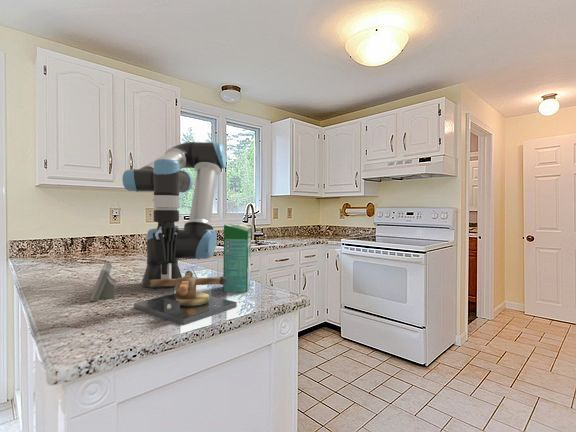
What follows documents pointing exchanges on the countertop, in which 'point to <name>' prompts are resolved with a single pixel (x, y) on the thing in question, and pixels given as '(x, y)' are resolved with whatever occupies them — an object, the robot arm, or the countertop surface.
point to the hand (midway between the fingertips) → (166, 284)
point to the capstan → (187, 288)
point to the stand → (183, 308)
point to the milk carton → (237, 258)
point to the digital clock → (104, 285)
